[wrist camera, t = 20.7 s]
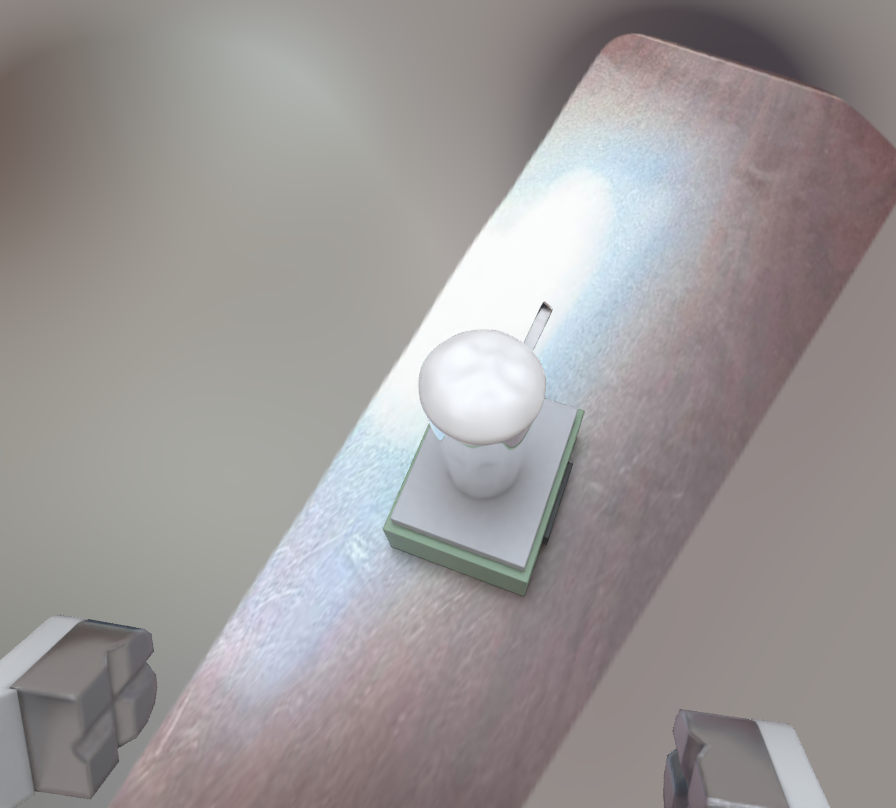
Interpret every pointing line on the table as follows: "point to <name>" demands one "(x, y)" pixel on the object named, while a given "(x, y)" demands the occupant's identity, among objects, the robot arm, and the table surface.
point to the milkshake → (484, 404)
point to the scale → (487, 506)
